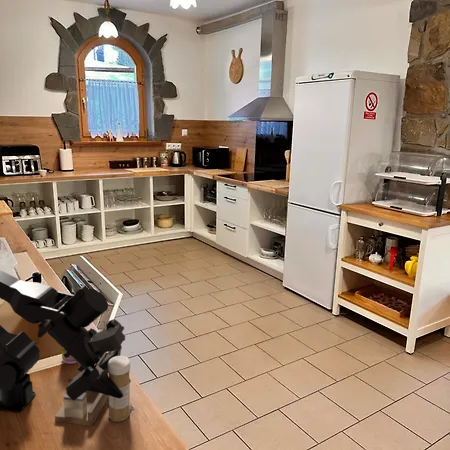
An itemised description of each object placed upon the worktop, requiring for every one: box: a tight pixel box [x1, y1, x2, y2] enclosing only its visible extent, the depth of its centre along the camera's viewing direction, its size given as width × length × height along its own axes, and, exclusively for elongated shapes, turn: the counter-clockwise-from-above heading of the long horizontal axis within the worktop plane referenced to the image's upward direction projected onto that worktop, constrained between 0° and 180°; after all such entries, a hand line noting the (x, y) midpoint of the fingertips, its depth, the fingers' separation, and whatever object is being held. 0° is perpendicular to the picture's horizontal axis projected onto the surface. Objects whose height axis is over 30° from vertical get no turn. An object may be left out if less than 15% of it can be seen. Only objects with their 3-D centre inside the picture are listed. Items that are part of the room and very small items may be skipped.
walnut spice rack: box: [54, 369, 109, 427], centre depth 94 cm, size 8×12×6 cm, turn 174°
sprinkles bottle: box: [108, 355, 131, 422], centre depth 90 cm, size 5×5×14 cm
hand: (125, 390), depth 90 cm, fingers closed on sprinkles bottle, 4 cm apart
